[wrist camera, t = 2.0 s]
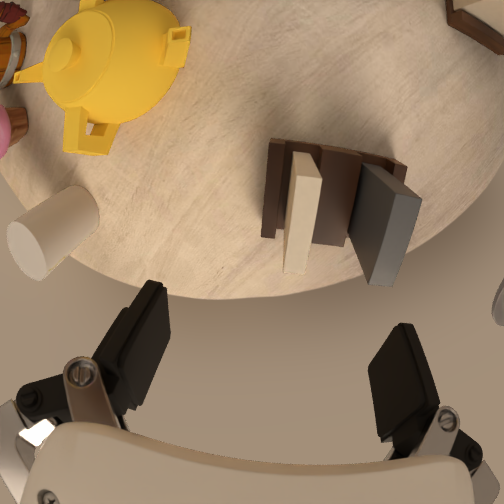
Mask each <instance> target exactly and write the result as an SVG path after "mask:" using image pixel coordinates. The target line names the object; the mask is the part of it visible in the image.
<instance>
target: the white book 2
mask: <svg viewBox="0 0 504 504" xmlns="http://www.w3.org/2000/svg"><path fill="white" fill-rule="evenodd" d="M453 7H454V11H456V12H458V11H461V10H462V11H464V12H465V13H467V14H469V15H470V16H472V17H474V18H475V19H477V20H478V21H480V22H481V23H483V24H485V25H486V26H487V27H489V28H490V29H492V30H493V31H495V32H496V33H497V34H499V35H500V36H501V37H503V38H504V0H453Z"/></svg>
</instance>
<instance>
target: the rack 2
mask: <svg viewBox="0 0 504 504" xmlns="http://www.w3.org/2000/svg"><path fill="white" fill-rule="evenodd" d="M446 8H447V21H448V25H449V26H451V27H453V28H455V29H457V30H459V31H460V32H462V33H464V34H466V35H467V36H469V37H471V38H473V39H474V40H476V41H477V42H479V43H481V44H482V45H484V46H485V47H487V48H488V49H490V50H491V51H493V52H494V53H496V54H497V55H504V38H503V37H501V36H500V35H499V34H497V33H496V32H495V31H493V30H492V29H490V28H489V27H487V26H486V25H485V24H483V23H481V22H480V21H478V20H477V19H475V18H474V17H472V16H470V15H469V14H467V13H465V12H464V11H462V10H461V11H458V12H456V11H454V7H453V0H446Z"/></svg>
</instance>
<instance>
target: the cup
mask: <svg viewBox="0 0 504 504" xmlns="http://www.w3.org/2000/svg"><path fill="white" fill-rule="evenodd" d="M98 224H99V211H98V207H97V204H96V202H95V200H94V198H93V197H92V195H91V194H90V193H89V192H88V191H87V190H86V189H84V188H83V187H81V186H77V185H72V186H69V187H67V188H66V189H64V190H62V191H60V192H59V193H57V194H55V195H53V196H52V197H50V198H48V199H47V200H45V201H44V202H42V203H40V204H39V205H37V206H35V207H34V208H32V209H31V210H29V211H28V212H27V213H25V214H23V215H22V216H20V217H19V218H17V219H16V220H14V221H13V222H12V223H10V224H9V226H8V229H7V241H8V246H9V249H10V252H11V254H12V256H13V258H14V260H15V262H16V263H17V265H18V266H19V267H20V269H21V270H22V271H23V272H24V273H25V274H26V275H27V276H29V277H30V278H32V279H33V280H37V281H41V280H43V279H44V278H45V277H46V276H47V275H48V274H49V273H50V272H51V271H52V270H53V269H54V268H55V267H56V266H57V265H58V264H59V263H60V262H62V261H63V260H64V259H65V258H66V257H67V256H68V255H69V254H70V253H71V252H72V251H73V250H74V249H76V248H77V247H78V246H79V245H80V244H81V243H82V242H83V241H85V240H86V239H87V238H88V237H89V236H90V235H92V234H93V233H94V232H95V231H96V229H97V227H98Z"/></svg>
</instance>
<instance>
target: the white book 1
mask: <svg viewBox="0 0 504 504" xmlns="http://www.w3.org/2000/svg"><path fill="white" fill-rule="evenodd" d="M321 185H322V177H321V175H320V173H319V171H318V169H317V167H316V165H315V163H314V161H313V159H312V157H311V155H310V153H303V152H295V151H293V153H292V162H291V171H290V179H289V188H288V196H287V204H286V212H285V220H284V251H283V273H291V274H300V275H305V271H306V266H307V261H308V257H309V252H310V246H311V241H312V236H313V231H314V225H315V220H316V214H317V209H318V203H319V197H320V191H321Z"/></svg>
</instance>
